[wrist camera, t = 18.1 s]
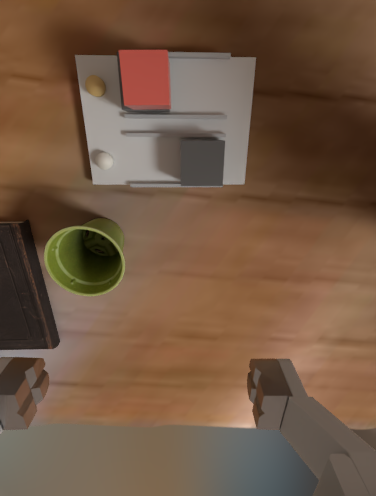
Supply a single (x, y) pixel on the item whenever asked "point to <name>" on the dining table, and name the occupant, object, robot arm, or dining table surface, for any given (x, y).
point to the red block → (145, 79)
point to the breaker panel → (167, 118)
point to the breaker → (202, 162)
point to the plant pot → (86, 257)
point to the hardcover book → (23, 293)
